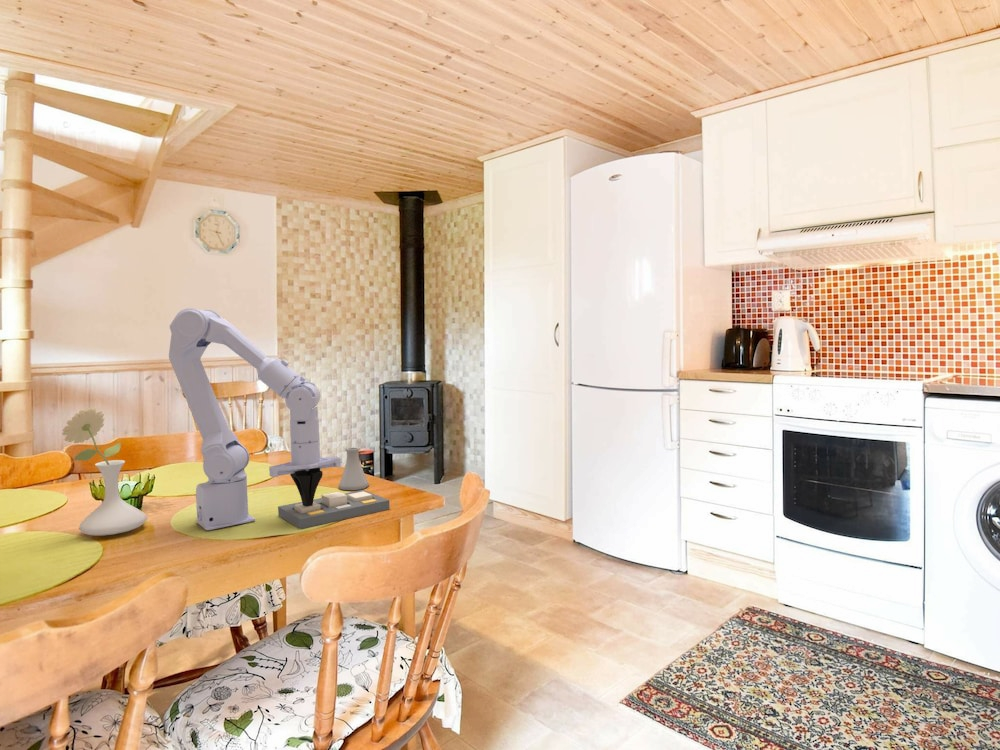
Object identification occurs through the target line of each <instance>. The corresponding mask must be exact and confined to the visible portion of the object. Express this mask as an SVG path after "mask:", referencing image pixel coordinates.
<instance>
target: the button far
mask: <svg viewBox="0 0 1000 750" xmlns="http://www.w3.org/2000/svg"><path fill="white" fill-rule="evenodd" d="M347 499H348V500H350V501H352V502H360V501H365V500H369V499H372V494H369V493H367V492H364V491H363V492H358V493H353V494H348V495H347Z"/></svg>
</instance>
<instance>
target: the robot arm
mask: <svg viewBox="0 0 1000 750" xmlns="http://www.w3.org/2000/svg"><path fill="white" fill-rule="evenodd" d="M169 329H170V333H171V335H170V343H169V351H168V359H169V362H170V364H171V367H172V369H173V372H174V374H175V376H176V378H177V381H178V383H179V386H180V388H181V391H182V394H183V395H184V398H185V401H186V403H187V404H188V407H189V410H190V412H191V415H192V417H193V419H194V422H195V424H196V427H197V429H198V431H199V433H200V437H201V438H202V440H201V441H202V443H201V448H200V452H201V454H202V457H203V463H202V468H203V469H202V470H203V473H204V474H205V475H206V477H207V479H208V480H207V481H205V482H202V483H201V482H200V483H198V484H197V485H196V489H195V501H196V502H195V505H196V523H197V524H198V525H199V526H201V527H202V528H203V529H204V530H205V531H212V530H217V529H221V528H227V527H230V526H231V527H232V526H236V525H242V524H247V523H252V522H256V518H255V517H254V516H252V515H251V514H249V504H248V500H249V499H248V478H247V473H246V471H245V469H246V467H247V466H248V464H249V462H250V453H249V451H248V449H247V447H245V446H244V445H243V444H242V443H241V442H240V441H239V440H240V439H239V438H238V436H237V435H236V434H235V432H233V431H232V430H231V429H230V427H229V425H228V423H227V420H226V419H225V415H224V413H223V411H222V408H221V406H220V404H219V401H218V399H217V396H216V394H215V391H214V389H213V387H212V385H211V383H210V379H209V377H208V374H207V372H206V369H205V367H204V365H203V363H202V360H201V358H202V356H203V354H204V353H205V351H206V350H207V348H208V346H209V345H211V344H212V343H215V344H218V345H219V344H221V345H224V346H226V347H228V348H229V349H230V350H231V351H232V352H234V353H235V354H236V355H238V356H239V357H241V358H242V359H243V361H245V362H247V363H248V364H249V365H251V366H252V367H253V368H255V370H256V371H257V378H258V379H259V380H260V381H261V382H262V383H263V384H264V385H265V386H267V387H268V388H269V389H270V390H272V392H274V393H275V394H276V395H278V396H279V397H280V398H281V399H284V402H285V404H286V407H287V408H288V409H289V417H290V419H289V428H290V429H289V431H290V435H289V436H290V455H291V456H290V459H291V460H290V461H289V462H285V463H281V464H277V465H276V464H275V465H271V466H269V468H268V469H269V476H270V477H272V478H278V477H280V476H285V475H289V476H290V477H291V478H292V481H293V482H294V484H295V486H296V488H297V491H298V493H299V496H300V499H301V502H302V504H303V505H304V506H306V507H307V506H312V505H313V500H314V499H315V495H316V492H317V491H316V490H317V488H318V485H319V483H320V482H321V480H322V478H323V473H324V472H323V471H322V470H321V469H327V468H334V467H335V468H339V467H341V463H342V462H341V461H342V460H341V456H340V457H339V456H330V457H321V450H320V449H321V447H320V445H321V444H320V422H319V421H320V419H319V407H318V406H317V405H318V404H319V403H320V401H321V393H320V392H321V391H320V390H319V388H318V387H317V386H316V384H315V383H313V382H311V381H307V378H306V377H305V376H304V375H299V374H298V373H297V372H296V371H295V370H293V369H292V368H291V367H289V361H288V360H286V359H280V358H279V357H268V355H267V354H265V353H264V352H263V351H262V350H261V349H260V348H258V347H257V346H256V345H255V344H254V343H253V342H252V341H251V340H250V339H248V338H247V337H246V336H245V335H244V334H243V333H242V332H241V331H240V330H239V329H238V328H237V327H236V326H234V325H233V324H232V323H231V322H230V321H229V320H227V319H225V318H224V317H221V315H220V314H218V313H217V312H216V311H214V310H211V309H197V308H193V307H192V308H191V307H188V308H184V309H182V310H180V311H179V312H177V314H176V315H175V317H174V318H173V320H172V321H171V322H170V325H169Z"/></svg>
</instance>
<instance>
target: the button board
mask: <svg viewBox="0 0 1000 750" xmlns="http://www.w3.org/2000/svg"><path fill="white" fill-rule="evenodd" d="M363 491H364V492H367V493H369V494H372V499H369V500H365V501H360V502H352V501H350V500H348V499H347V504H345V505H340V506H336V507H331V508H329V507H327V506H325V505H323V504H322V497H320V498H314V500H313V502H315V503H317V504H319V505H321V510H316V511H311V512H307V513H302V514H300V513H298V512H297V511H295V508H294V505H297V504H302V501H299V502H294V503H289V504H284V505H279V506H277V513H278V516H279V517H280V518H282V519H283V520H285V521H286V522H289V524H292V526H293V525H294V526H295V527H297V529H300V530H303V529H308V528H311V527H316V526H319V525H320V526H321V525H324V524H329V523H330V524H331V523H333V522H339V521H342V520H347V519H350V518H351V519H352V518H356V517H361V516H364V515H370V514H374V513H377V512H383V511H387V510H390V506H391V505H390V499H388V498H385V497H383V496H380V495H377V494H375V493H372V492H370V491H368V490H364V489H359V490H354V491H352V492H346V493H344V494H345V495H348V494H353V493H358V492H363Z"/></svg>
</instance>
